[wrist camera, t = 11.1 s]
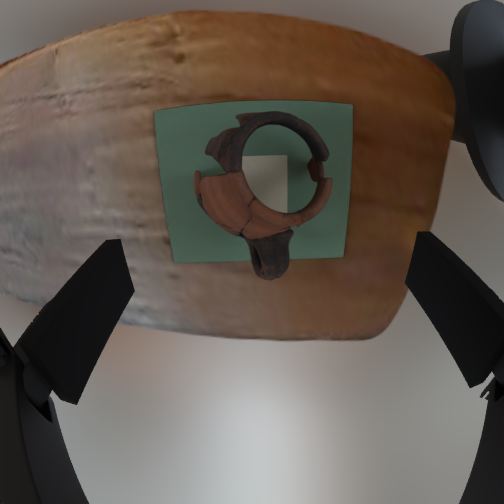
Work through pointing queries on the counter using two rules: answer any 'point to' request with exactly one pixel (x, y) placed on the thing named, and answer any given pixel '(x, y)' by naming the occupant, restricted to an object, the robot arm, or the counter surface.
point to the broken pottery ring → (247, 204)
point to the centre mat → (254, 176)
